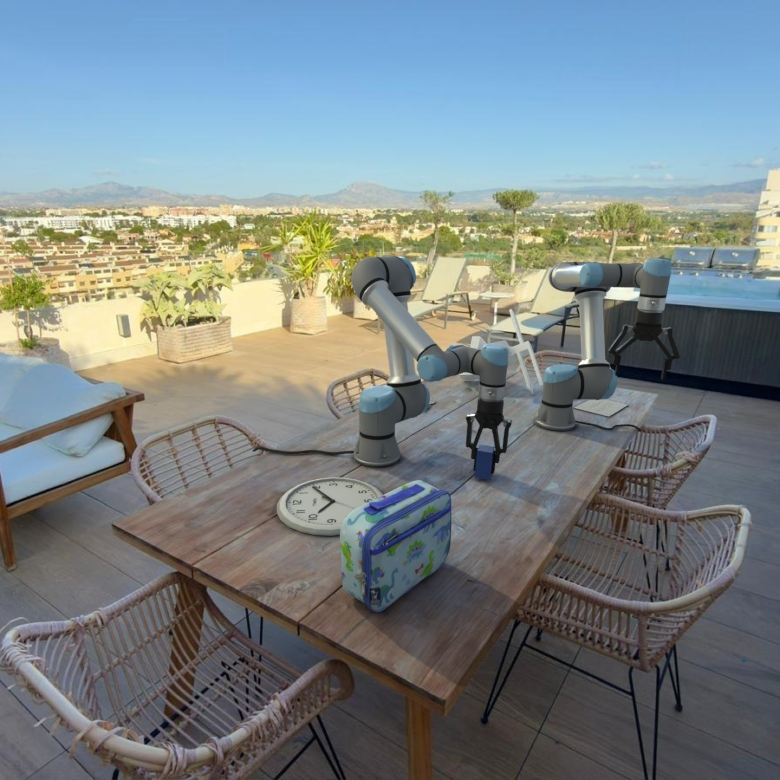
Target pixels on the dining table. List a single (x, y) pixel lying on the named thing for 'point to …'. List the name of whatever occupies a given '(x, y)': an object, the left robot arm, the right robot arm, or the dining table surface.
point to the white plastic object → (510, 354)
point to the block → (484, 462)
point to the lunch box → (394, 543)
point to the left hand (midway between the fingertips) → (484, 470)
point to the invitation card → (601, 407)
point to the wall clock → (323, 504)
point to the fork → (432, 401)
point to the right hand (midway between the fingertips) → (639, 377)
